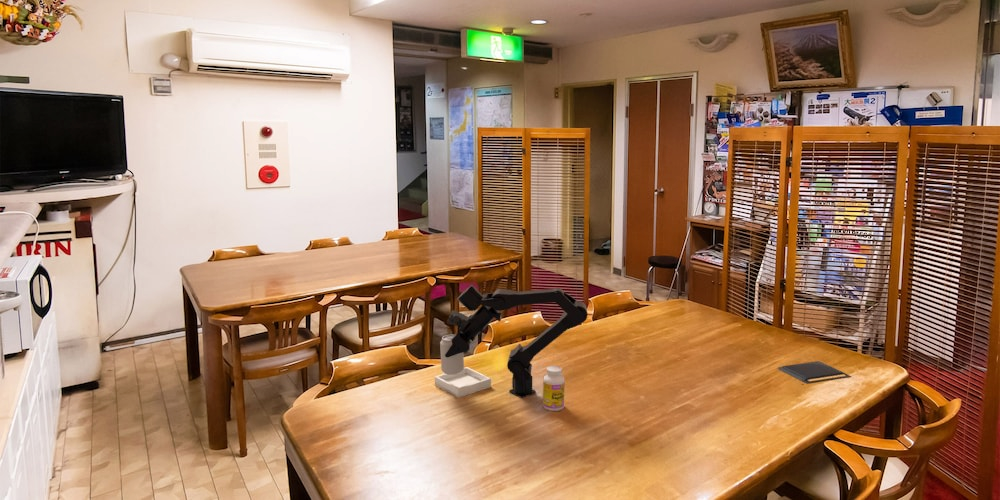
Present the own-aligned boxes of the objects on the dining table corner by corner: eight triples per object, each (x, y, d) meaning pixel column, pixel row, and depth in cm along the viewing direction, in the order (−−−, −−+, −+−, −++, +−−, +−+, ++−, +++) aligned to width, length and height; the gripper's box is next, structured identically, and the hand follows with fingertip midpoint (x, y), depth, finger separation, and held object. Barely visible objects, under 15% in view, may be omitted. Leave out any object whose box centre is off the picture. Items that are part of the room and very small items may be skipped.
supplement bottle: (550, 413, 188) (550, 374, 186) (538, 405, 194) (539, 366, 192) (568, 409, 191) (569, 370, 189) (556, 400, 197) (557, 363, 195)
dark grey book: (820, 358, 229) (853, 374, 215) (820, 363, 230) (853, 379, 215) (775, 364, 224) (805, 380, 210) (774, 369, 224) (805, 385, 210)
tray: (490, 386, 208) (490, 378, 207) (458, 397, 199) (458, 389, 199) (466, 374, 218) (466, 366, 218) (434, 384, 210) (434, 376, 209)
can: (456, 377, 199) (455, 341, 197) (437, 373, 203) (435, 338, 200) (468, 369, 206) (466, 334, 204) (449, 365, 209) (447, 332, 207)
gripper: (466, 295, 209) (435, 326, 212) (457, 311, 190) (424, 345, 194) (489, 318, 209) (459, 348, 212) (483, 336, 191) (449, 369, 194)
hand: (447, 352), depth 203 cm, fingers closed on can, 7 cm apart
